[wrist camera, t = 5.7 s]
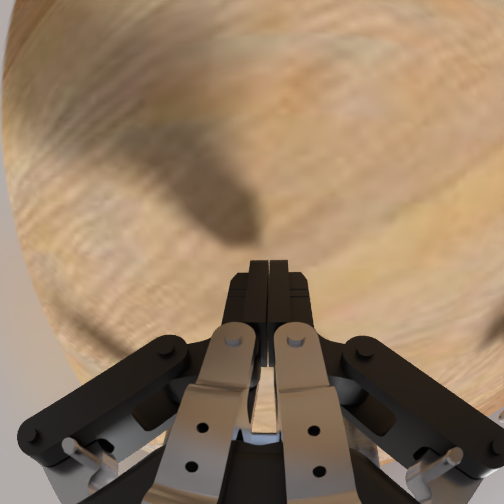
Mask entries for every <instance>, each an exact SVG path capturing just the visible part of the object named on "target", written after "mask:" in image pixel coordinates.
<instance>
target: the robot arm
mask: <svg viewBox="0 0 504 504" xmlns="http://www.w3.org/2000/svg"><path fill="white" fill-rule="evenodd" d="M268 351H269V367H274V397H275V412H276V429H277V442H275V443H270V444H265V445H254V444H251V433H252V424H253V418H254V412H255V407H256V400H257V394H258V388H259V380H260V374H261V367H267V354H268ZM342 416H343V417H345V418H346V419H347V420H348V421H349V422H350V423H351V424H353V425H354V426H355V427H356V428H357V429H358V430H360V431H361V432H362V433H363V434H364V435H366V436H367V437H368V438H369V439H370V440H371V441H373V442H374V443H375V444H376V445H378V446H379V447H380V448H381V449H382V450H384V451H385V452H386V453H387V454H389V455H390V456H391V457H392V458H394V459H395V460H396V461H397V462H399V463H400V464H401V465H402V466H404V467H405V468H406V469H408V470H407V473H406V485H407V487H408V489H409V490H410V491H411V492H412V493H413V494H414V496H415V498H413V497H412V496H411V495H410V494H409V493H407V492H406V491H405V490H404V489H403V488H401V487H400V486H399V485H398V484H397V483H396V482H394V481H393V480H392V479H391V478H390V477H389V476H388V475H386V474H385V473H384V472H383V471H382V470H381V469H380V468H379V467H377V466H376V465H375V464H374V463H373V462H372V461H371V460H370V459H369V458H367V457H366V456H365V455H363V454H362V453H360V452H359V451H357V450H355V449H353V448H350V447H348V442H347V437H346V432H345V427H344V422H343V417H342ZM172 425H173V427H172V430H171V433H170V436H169V439H168V442H167V444H166V445H164V446H162V447H160V448H158V449H156V450H154V451H153V452H152V453H150V454H149V455H148V456H146V457H145V458H144V459H142V460H141V461H140V462H138V463H137V464H136V465H134V466H133V467H131V468H130V469H129V470H127V471H126V472H124V473H123V474H122V475H120V476H119V477H118V463H119V462H121V461H122V460H124V459H125V458H127V457H128V456H130V455H131V454H133V453H134V452H136V451H137V450H139V449H140V448H142V447H143V446H145V445H146V444H147V443H149V442H150V441H152V440H153V439H154V438H156V437H157V436H159V435H160V434H161V433H163V432H164V431H166V430H167V429H168V428H170V427H171V426H172ZM17 440H18V445H19V447H20V448H21V450H22V451H23V452H24V453H25V454H27V455H28V456H30V457H31V458H33V459H34V460H36V461H37V462H38V463H39V464H40V465H41V466H42V467H43V469H44V471H45V473H46V475H47V477H48V479H49V481H50V483H51V485H52V487H53V489H54V491H55V493H56V495H57V496H58V498H59V500H60V502H61V503H62V504H467V503H468V502H469V500H470V499H471V497H472V496H473V494H474V493H475V491H476V490H477V488H478V486H479V485H480V483H481V482H482V480H483V479H484V478H485V477H486V476H488V475H490V474H491V473H493V472H495V471H496V470H498V469H499V468H501V467H503V466H504V429H503V428H502V427H501V426H499V425H498V424H496V423H495V422H493V421H492V420H491V419H489V418H488V417H486V416H485V415H484V414H482V413H481V412H479V411H478V410H476V409H475V408H474V407H472V406H471V405H469V404H468V403H466V402H465V401H464V400H462V399H461V398H459V397H458V396H456V395H455V394H454V393H452V392H451V391H449V390H448V389H447V388H445V387H444V386H442V385H441V384H439V383H438V382H437V381H435V380H434V379H432V378H431V377H429V376H428V375H427V374H425V373H424V372H422V371H421V370H419V369H418V368H417V367H415V366H414V365H412V364H411V363H410V362H408V361H407V360H405V359H404V358H402V357H401V356H400V355H398V354H397V353H395V352H394V351H392V350H391V349H390V348H388V347H387V346H385V345H384V344H382V343H381V342H380V341H378V340H377V339H375V338H372V337H369V336H356V337H353V338H351V339H350V340H348V341H347V342H346V343H345V344H342V343H337V342H333V341H329V340H327V339H325V338H323V337H322V336H320V335H319V334H318V333H317V332H316V330H315V328H314V325H313V317H312V310H311V303H310V298H309V290H308V282H307V279H306V278H305V277H304V275H303V274H302V273H301V272H288V260H270V271H269V262H268V260H251V261H250V267H249V273H237V274H236V275H235V276H234V277H233V278H232V280H231V282H230V286H229V291H228V296H227V300H226V305H225V310H224V315H223V319H222V324H221V326H219V327H218V328H217V329H216V330H215V331H214V332H213V335H212V337H211V338H209V339H207V340H204V341H200V342H196V343H190V344H186V342H185V341H184V340H183V339H182V338H181V337H179V336H176V335H163V336H160V337H157V338H156V339H154V340H152V341H151V342H149V343H148V344H146V345H145V346H143V347H142V348H140V349H139V350H137V351H136V352H134V353H132V354H131V355H129V356H128V357H126V358H125V359H123V360H122V361H120V362H118V363H117V364H115V365H114V366H112V367H111V368H109V369H108V370H106V371H104V372H103V373H101V374H100V375H98V376H96V377H95V378H93V379H92V380H90V381H89V382H87V383H85V384H84V385H82V386H81V387H79V388H77V389H76V390H74V391H73V392H71V393H69V394H68V395H66V396H65V397H63V398H61V399H60V400H58V401H57V402H55V403H53V404H52V405H50V406H49V407H47V408H45V409H43V410H42V411H40V412H39V413H37V414H35V415H34V416H32V417H30V418H29V419H27V420H26V421H24V422H23V423H22V425H21V426H20V428H19V430H18V434H17Z"/></svg>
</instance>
